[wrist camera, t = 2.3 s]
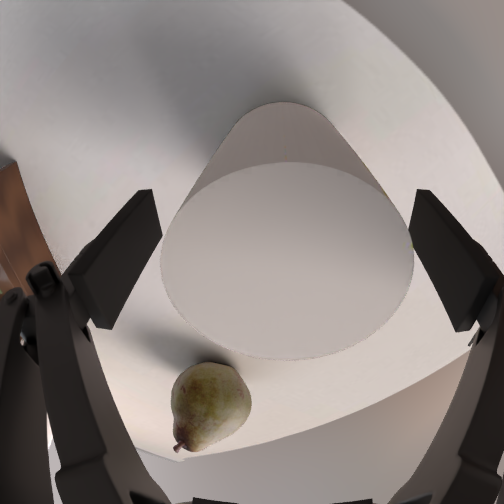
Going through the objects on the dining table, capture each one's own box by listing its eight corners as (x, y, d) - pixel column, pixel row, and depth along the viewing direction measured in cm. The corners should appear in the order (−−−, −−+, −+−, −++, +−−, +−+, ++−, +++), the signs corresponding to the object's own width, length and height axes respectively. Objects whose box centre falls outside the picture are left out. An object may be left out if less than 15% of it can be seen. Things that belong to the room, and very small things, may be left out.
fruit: (170, 345, 32) (143, 437, 23) (250, 349, 31) (238, 451, 22) (193, 386, 38) (176, 461, 29) (258, 390, 37) (250, 470, 28)
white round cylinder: (321, 227, 21) (345, 371, 12) (213, 199, 21) (158, 334, 11) (361, 125, 17) (458, 217, 7) (238, 88, 16) (173, 128, 6)
